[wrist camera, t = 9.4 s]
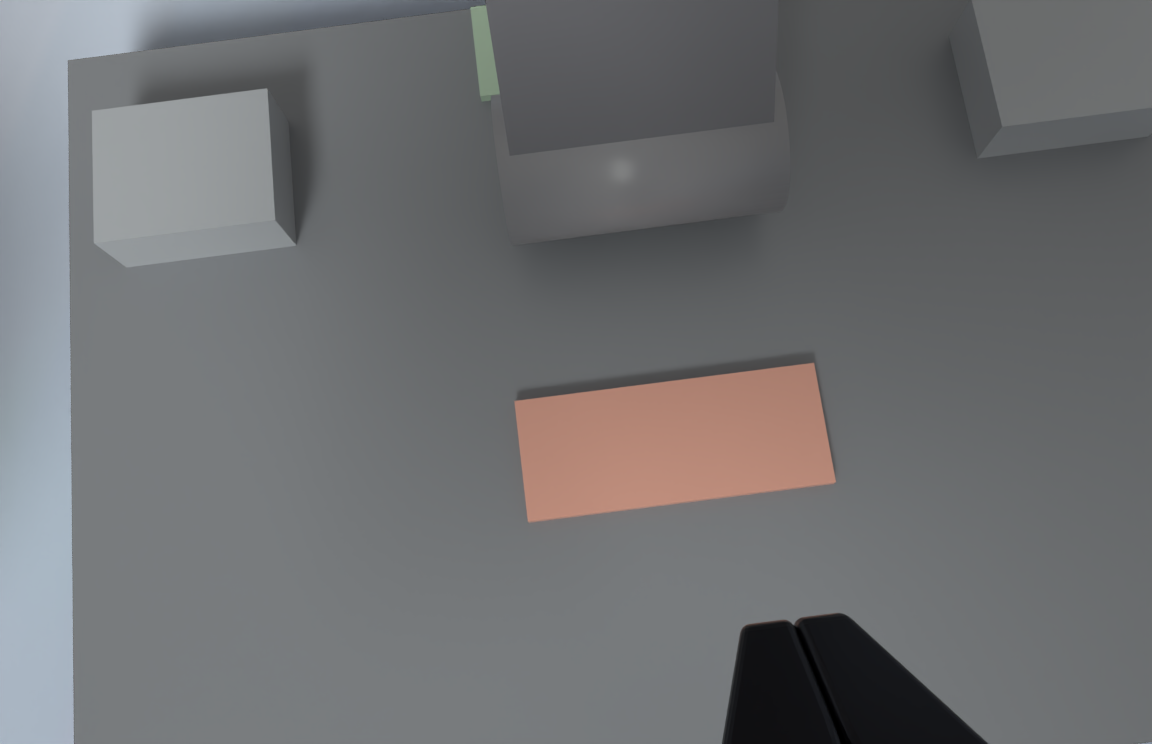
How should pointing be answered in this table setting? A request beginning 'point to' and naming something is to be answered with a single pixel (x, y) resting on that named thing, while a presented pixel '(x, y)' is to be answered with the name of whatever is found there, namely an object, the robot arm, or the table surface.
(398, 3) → the table surface
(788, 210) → the panel
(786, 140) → the handle
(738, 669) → the robot arm
